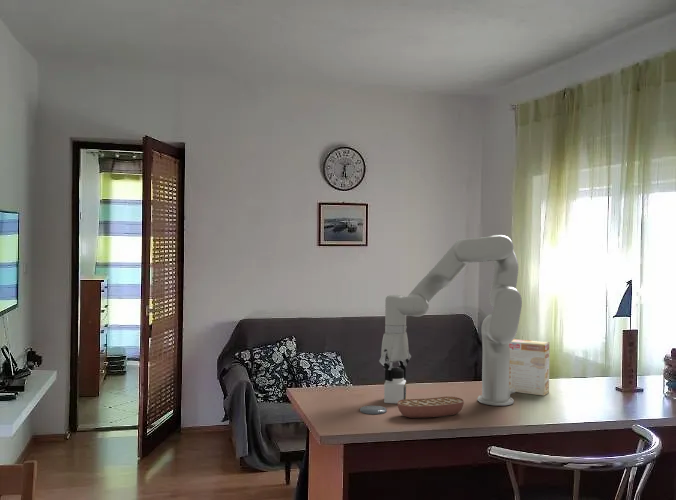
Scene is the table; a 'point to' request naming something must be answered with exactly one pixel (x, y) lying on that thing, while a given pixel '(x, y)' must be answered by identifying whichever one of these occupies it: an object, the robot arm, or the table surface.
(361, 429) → the table surface
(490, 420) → the table surface
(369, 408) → the coaster
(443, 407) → the oval dish
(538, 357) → the coffeecake box
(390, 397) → the medicine bottle
